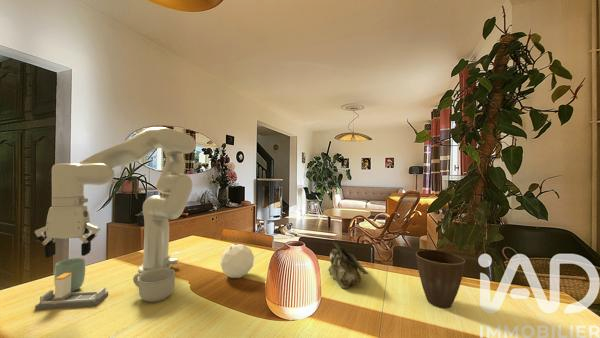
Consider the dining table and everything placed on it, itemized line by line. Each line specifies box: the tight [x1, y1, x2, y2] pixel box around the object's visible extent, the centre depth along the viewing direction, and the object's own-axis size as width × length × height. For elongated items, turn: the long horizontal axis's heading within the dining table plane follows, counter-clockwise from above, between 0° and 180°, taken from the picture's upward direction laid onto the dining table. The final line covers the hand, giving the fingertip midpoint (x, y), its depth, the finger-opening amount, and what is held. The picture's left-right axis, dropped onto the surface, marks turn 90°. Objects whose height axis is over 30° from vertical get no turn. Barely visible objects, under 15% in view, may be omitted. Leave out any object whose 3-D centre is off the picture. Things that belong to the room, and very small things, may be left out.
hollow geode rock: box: [328, 241, 369, 289], centre depth 108 cm, size 28×13×15 cm
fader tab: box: [53, 273, 72, 301], centre depth 80 cm, size 3×4×7 cm
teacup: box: [132, 268, 176, 303], centre depth 85 cm, size 14×11×8 cm
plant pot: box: [415, 249, 466, 309], centre depth 87 cm, size 15×15×16 cm
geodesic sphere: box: [220, 242, 255, 279], centre depth 104 cm, size 14×14×14 cm
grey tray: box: [34, 287, 109, 311], centre depth 81 cm, size 16×7×3 cm, turn 102°
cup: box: [53, 257, 87, 292], centre depth 88 cm, size 8×8×10 cm
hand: (68, 255), depth 81 cm, fingers open, 9 cm apart
